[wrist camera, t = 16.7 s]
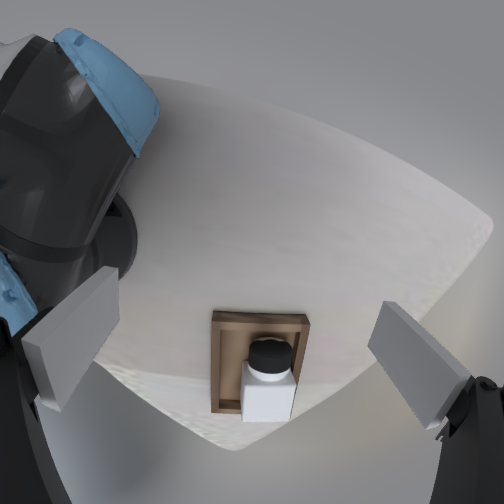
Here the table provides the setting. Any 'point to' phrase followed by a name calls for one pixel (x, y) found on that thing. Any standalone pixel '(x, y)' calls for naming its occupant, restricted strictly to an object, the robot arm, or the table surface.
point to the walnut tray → (237, 350)
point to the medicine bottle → (267, 382)
